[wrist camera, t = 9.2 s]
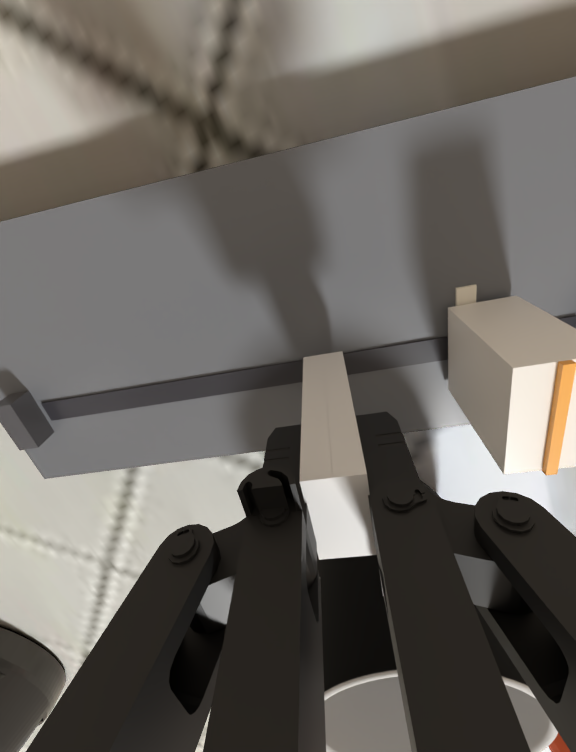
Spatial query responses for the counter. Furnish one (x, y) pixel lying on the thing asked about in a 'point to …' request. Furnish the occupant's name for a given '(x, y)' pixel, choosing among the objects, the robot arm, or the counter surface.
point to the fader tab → (515, 382)
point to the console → (281, 284)
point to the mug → (386, 666)
